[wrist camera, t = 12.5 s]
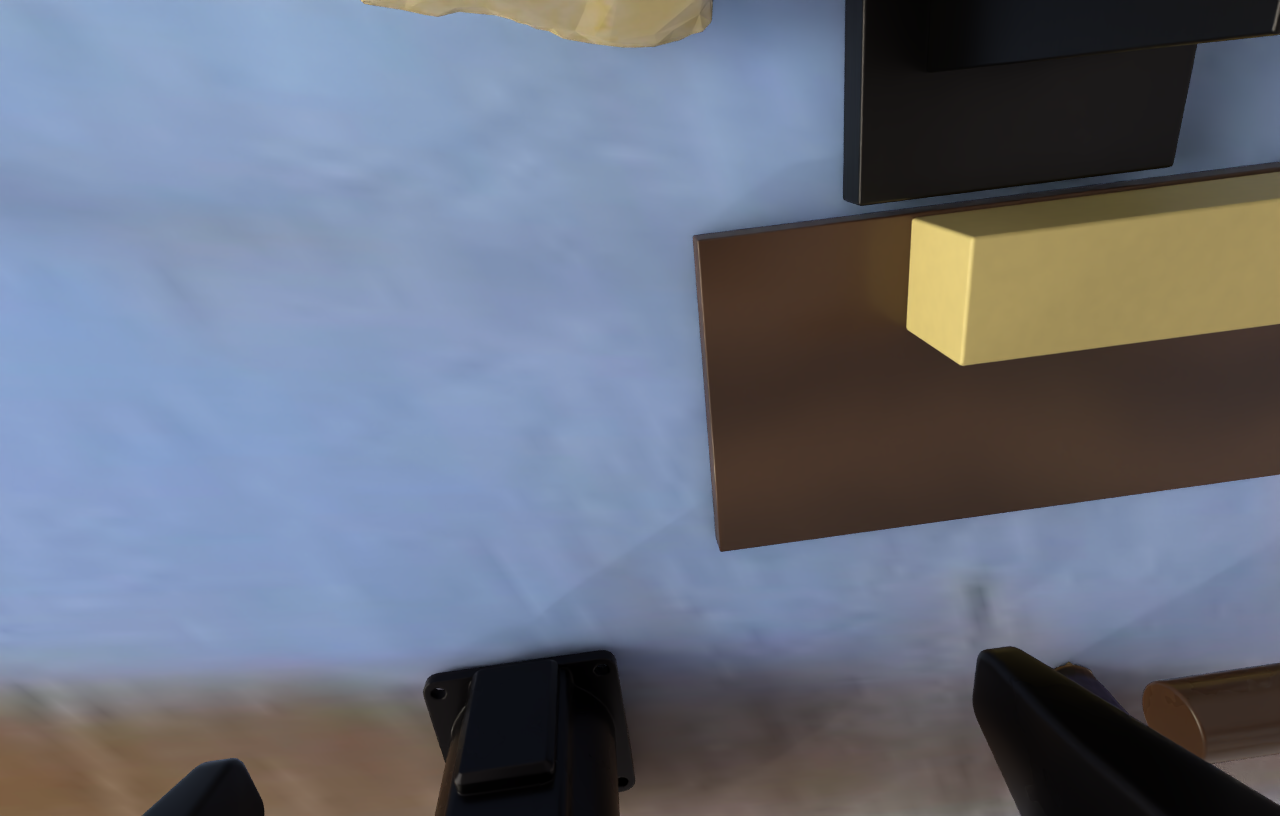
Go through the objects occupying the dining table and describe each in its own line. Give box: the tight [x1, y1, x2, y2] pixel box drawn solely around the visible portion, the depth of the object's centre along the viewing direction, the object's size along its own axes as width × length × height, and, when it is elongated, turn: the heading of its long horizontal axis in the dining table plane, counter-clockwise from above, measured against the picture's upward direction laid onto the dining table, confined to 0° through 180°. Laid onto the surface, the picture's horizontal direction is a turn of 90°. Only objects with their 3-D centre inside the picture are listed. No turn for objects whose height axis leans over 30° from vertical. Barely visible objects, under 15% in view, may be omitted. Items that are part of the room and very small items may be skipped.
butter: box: [906, 172, 1280, 366], centre depth 17 cm, size 3×10×3 cm, turn 96°
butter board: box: [693, 162, 1280, 552], centre depth 20 cm, size 10×18×1 cm, turn 96°
